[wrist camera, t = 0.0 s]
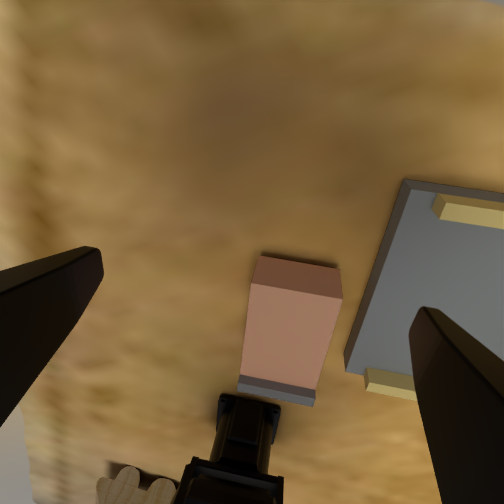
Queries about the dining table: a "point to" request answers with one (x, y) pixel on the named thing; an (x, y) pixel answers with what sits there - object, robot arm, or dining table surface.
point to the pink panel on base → (288, 329)
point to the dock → (430, 280)
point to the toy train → (133, 489)
